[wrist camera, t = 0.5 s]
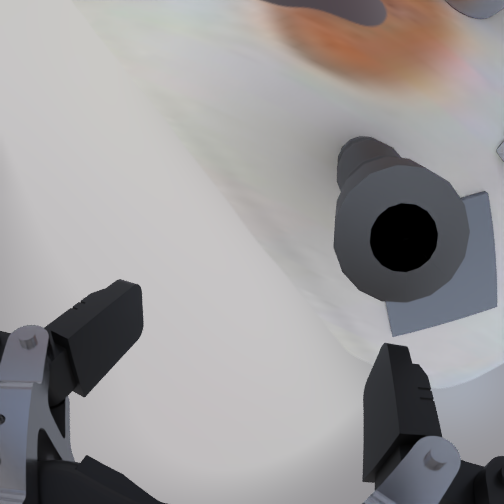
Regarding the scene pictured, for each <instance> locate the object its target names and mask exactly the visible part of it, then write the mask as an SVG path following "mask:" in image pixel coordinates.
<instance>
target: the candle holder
mask: <svg viewBox="0 0 504 504" xmlns="http://www.w3.org/2000/svg"><path fill="white" fill-rule="evenodd" d="M337 182H338V185H339V188H340V190H341V193H340V195H339V197H338V200H337V206H336V216H335V231H334V250H335V252H336V255H337V258H338V261H339V264H340V267H341V269H342V272H343V273H344V274H345V275H346V276H347V277H348V279H349V280H350V281H351V282H352V283H353V284H354V285H355V286H356V287H357V288H358V290H359V291H362V292H364V293H366V294H368V295H370V296H372V297H374V298H376V299H378V300H380V301H387V302H402V303H407V302H411V301H414V300H417V299H421V298H424V297H427V296H430V295H432V294H433V293H434V292H436V291H437V290H438V289H440V288H441V287H442V286H444V285H445V284H446V283H447V282H449V281H450V280H451V279H452V277H453V276H454V274H455V273H456V271H457V270H458V268H459V266H460V265H461V263H462V261H463V260H464V258H465V255H466V250H467V245H468V239H469V234H470V229H469V223H468V218H467V213H466V208H465V204H464V203H463V201H462V200H461V198H460V197H459V195H458V194H457V193H456V191H455V190H454V188H453V187H452V185H451V184H450V182H448V181H447V180H445V179H443V178H442V177H440V176H438V175H437V174H435V173H433V172H432V171H430V170H428V169H427V168H425V167H423V166H421V165H419V164H418V163H416V162H414V161H412V160H410V159H405V158H401V157H400V155H399V154H398V153H397V152H396V151H395V150H394V148H392V147H390V146H388V145H386V144H384V143H382V142H380V141H378V140H376V139H374V138H371V137H361V136H360V137H357V138H354V139H351V140H349V141H348V142H347V143H346V144H345V145H344V146H343V147H342V149H341V152H340V154H339V156H338V166H337Z"/></svg>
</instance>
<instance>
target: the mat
mask: <svg viewBox="0 0 504 504" xmlns="http://www.w3.org/2000/svg"><path fill="white" fill-rule="evenodd" d="M461 200H462V201H463V203H464V204H465V208H466V213H467V218H468V223H469V229H470V234H469V239H468V245H467V250H466V255H465V258H464V260H463V261H462V263H461V265H460V266H459V268H458V270H457V271H456V273H455V274H454V276H453V277H452V279H451V280H450V281H449V282H447V283H446V284H445V285H444V286H442V287H441V288H440V289H438V290H437V291H436V292H434V293H433V294H432V295H430V296H427V297H424V298H421V299H417V300H414V301H411V302H407V303H402V302H387V301H385V302H386V306H387V311H388V316H389V321H390V326H391V331H392V336H393V337H395V336H399V335H403V334H407V333H411V332H415V331H419V330H422V329H426V328H430V327H433V326H437V325H440V324H444V323H447V322H451V321H454V320H457V319H461V318H464V317H467V316H470V315H474V314H477V313H480V312H483V311H486V310H489V309H492V308H495V307H497V274H496V256H495V243H494V233H493V224H492V217H491V209H490V203H489V196H488V193H487V192H485V191H484V192H480V193H477V194H473V195H470V196H466V197H463V198H461Z"/></svg>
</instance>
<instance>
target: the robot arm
mask: <svg viewBox="0 0 504 504" xmlns="http://www.w3.org/2000/svg"><path fill="white" fill-rule="evenodd" d="M446 1H447V2H448V3H449V4H450V5H451V6H452V7H453V8H455V9H456V10H458V11H459V12H461V13H463V14H465V15H467V16H470V17H473V18H479V19H484V18H488V17H491V16H493V15H494V14H496V13H497V12H499V11H500V10H502V9H503V8H504V0H446ZM142 330H143V307H142V291H141V287H140V286H139V285H138V284H134V283H131V282H127V281H124V280H121V279H119V280H117V281H115V282H114V283H112V284H111V285H110V286H108V287H107V288H106V289H102V290H99V291H97V292H94V293H91V294H90V295H88V296H87V297H85V298H84V299H83V300H81V302H78V303H77V304H76V305H74V306H73V308H70V309H69V310H68V311H66V312H65V313H64V314H62V315H61V316H59V317H58V318H57V319H56V320H54V321H53V322H52V323H50V324H49V325H47V326H46V327H45V328H43V327H41V326H36V325H27V326H23V327H20V328H18V329H16V330H15V331H14V332H12V333H7V332H2V331H0V504H165V503H162V502H160V501H158V500H156V499H155V498H153V497H152V496H150V495H149V494H148V493H146V492H145V491H144V490H142V489H141V488H140V487H138V486H137V485H136V484H134V483H133V482H132V481H131V480H129V479H128V478H127V477H125V476H124V475H123V474H121V473H119V472H117V471H115V470H113V469H111V468H110V467H108V466H106V465H104V464H102V463H100V462H98V461H97V460H95V459H93V458H91V457H89V456H88V455H86V456H85V458H84V459H83V460H82V462H81V463H78V462H75V461H74V457H73V454H72V451H71V445H70V418H69V417H70V415H69V414H70V413H69V412H70V408H69V405H70V402H69V398H68V395H69V394H70V393H71V392H72V391H74V392H75V393H77V394H79V395H81V396H83V397H86V395H87V394H88V393H89V392H90V391H91V390H92V389H93V388H94V387H95V386H96V385H97V383H98V382H99V381H100V380H101V379H102V378H103V377H104V376H105V375H106V374H107V373H108V371H109V370H110V369H111V368H112V367H113V366H114V365H115V364H116V363H117V362H118V361H119V360H120V358H121V357H122V356H123V355H124V354H125V353H126V352H127V351H128V350H129V349H130V348H131V347H132V346H133V344H134V343H135V342H136V341H137V340H138V339H139V337H140V336H141V333H142ZM430 390H431V387H430V383H429V379H428V376H427V375H426V373H425V372H424V371H423V369H422V368H421V367H420V365H419V364H412V361H411V357H410V353H409V349H408V347H407V346H401V345H394V344H389V343H384V344H383V345H382V347H381V349H380V352H379V354H378V356H377V359H376V361H375V363H374V366H373V368H372V370H371V372H370V375H369V377H368V379H367V382H366V385H365V389H364V395H363V396H364V397H363V403H364V404H363V407H364V451H363V454H364V455H363V482H372V483H374V482H375V491H374V492H373V493H372V494H371V495H370V496H369V497H368V499H367V500H366V501H365V502H364V503H363V504H504V456H498V457H495V458H493V459H492V460H491V461H490V462H489V463H488V464H487V465H486V466H485V467H483V466H479V465H476V464H472V463H469V462H465V461H463V460H461V459H460V454H459V452H458V450H457V449H456V447H455V446H454V445H453V444H452V443H451V442H450V441H448V440H446V439H444V438H442V434H441V429H440V424H439V420H438V415H437V411H436V407H435V403H434V401H433V395H432V391H430Z"/></svg>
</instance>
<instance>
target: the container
mask: <svg viewBox="0 0 504 504" xmlns="http://www.w3.org/2000/svg"><path fill="white" fill-rule="evenodd" d="M497 153H498V154H499V156H500V157H501V158H502V160H503V161H504V142H503V143H502V144H501V145H500V146H499V148H498V149H497Z"/></svg>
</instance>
